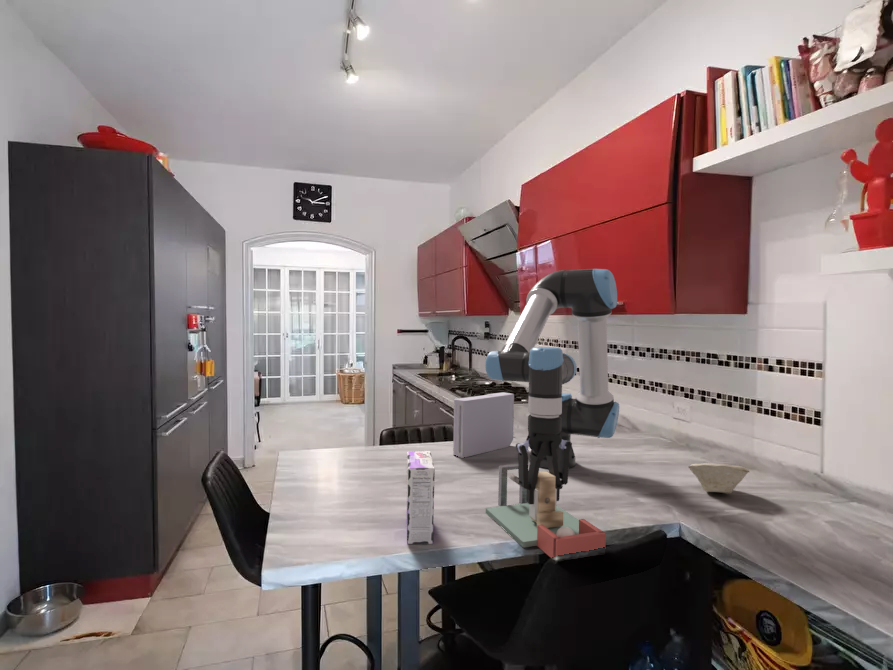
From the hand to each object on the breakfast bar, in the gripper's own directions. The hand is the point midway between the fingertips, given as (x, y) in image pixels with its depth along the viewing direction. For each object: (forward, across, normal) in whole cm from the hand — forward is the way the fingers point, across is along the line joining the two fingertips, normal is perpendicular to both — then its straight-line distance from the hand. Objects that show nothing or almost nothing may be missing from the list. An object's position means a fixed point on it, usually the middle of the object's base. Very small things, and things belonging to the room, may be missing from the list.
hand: (542, 516), depth 114 cm
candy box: (+3, +28, -7) cm, 28 cm away
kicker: (+1, 0, -6) cm, 6 cm away
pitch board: (+3, 0, -2) cm, 4 cm away
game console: (+3, -14, -67) cm, 69 cm away
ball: (+1, 0, +10) cm, 10 cm away
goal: (+3, 0, +12) cm, 12 cm away
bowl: (+3, -59, -7) cm, 60 cm away
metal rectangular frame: (+3, 0, -15) cm, 15 cm away
